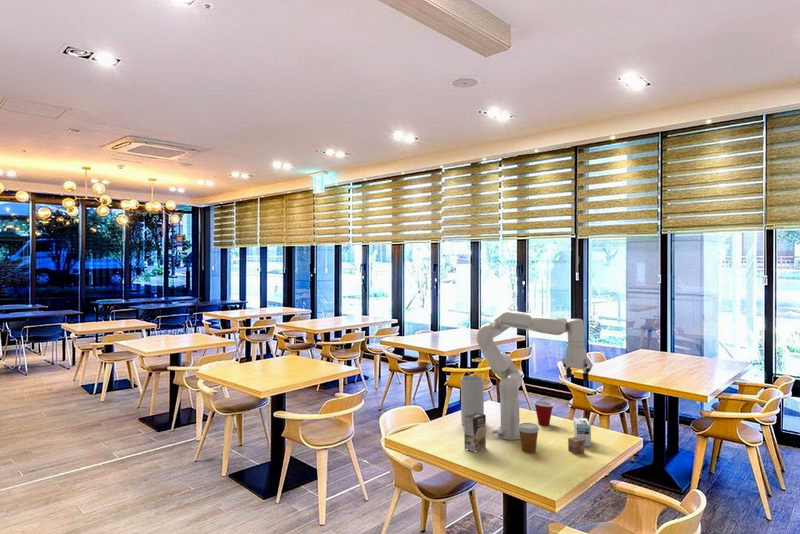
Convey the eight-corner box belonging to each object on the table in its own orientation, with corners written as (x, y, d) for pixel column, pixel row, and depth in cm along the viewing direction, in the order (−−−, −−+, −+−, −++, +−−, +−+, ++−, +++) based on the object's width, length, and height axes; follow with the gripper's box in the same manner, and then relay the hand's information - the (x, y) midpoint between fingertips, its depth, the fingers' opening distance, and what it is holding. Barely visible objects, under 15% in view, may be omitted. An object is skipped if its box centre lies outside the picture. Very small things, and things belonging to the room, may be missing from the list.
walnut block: (575, 454, 229) (575, 441, 229) (568, 450, 234) (568, 438, 234) (584, 453, 231) (584, 440, 231) (577, 449, 235) (576, 436, 235)
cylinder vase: (459, 420, 282) (458, 376, 282) (480, 419, 283) (479, 375, 284) (464, 427, 270) (463, 381, 270) (486, 426, 271) (486, 380, 271)
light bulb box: (591, 446, 238) (591, 424, 238) (576, 446, 240) (576, 423, 240) (587, 439, 249) (587, 417, 249) (573, 438, 250) (573, 417, 250)
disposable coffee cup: (528, 456, 227) (527, 430, 228) (514, 449, 236) (513, 424, 236) (543, 452, 232) (543, 426, 232) (529, 446, 240) (529, 421, 240)
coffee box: (474, 452, 232) (474, 418, 232) (464, 449, 237) (463, 416, 237) (486, 447, 239) (486, 414, 239) (475, 444, 243) (475, 411, 243)
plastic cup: (557, 427, 268) (556, 405, 268) (537, 427, 268) (536, 405, 268) (551, 421, 279) (550, 399, 279) (531, 421, 279) (531, 400, 279)
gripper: (556, 343, 247) (557, 377, 247) (586, 347, 232) (587, 383, 232) (566, 341, 251) (567, 375, 251) (596, 345, 236) (597, 381, 236)
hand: (577, 379), depth 241 cm, fingers open, 9 cm apart
